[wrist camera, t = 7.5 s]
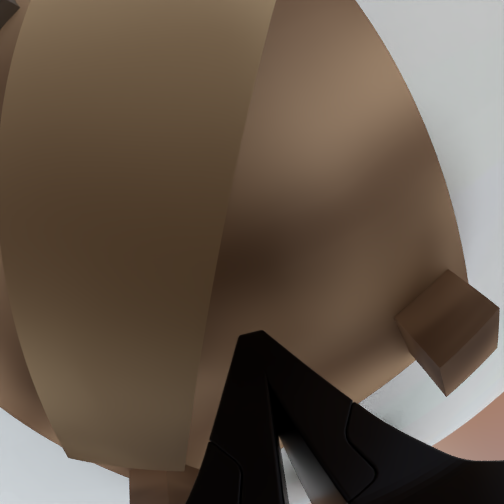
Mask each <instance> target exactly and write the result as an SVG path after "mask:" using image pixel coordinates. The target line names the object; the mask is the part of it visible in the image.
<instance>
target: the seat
mask: <svg viewBox="0 0 504 504" xmlns="http://www.w3.org/2000/svg"><path fill="white" fill-rule="evenodd" d="M30 1H31V0H0V123H1V115H2V108H3V101H4V95H5V89H6V84H7V79H8V74H9V70H10V65H11V61H12V57H13V53H14V49H15V46H16V42H17V39H18V36H19V32H20V29H21V26H22V23H23V20H24V17H25V14H26V11H27V9H28V6H29V3H30ZM258 330H264V331H265V332H266V333H267V334H269V335H270V336H271V337H272V338H273V339H275V340H276V341H277V342H278V343H280V344H281V345H282V346H283V347H285V348H286V349H287V350H288V351H290V352H291V353H292V354H293V355H295V356H296V357H297V358H298V359H300V360H301V361H302V362H303V363H305V364H306V365H307V366H309V367H310V368H311V369H312V370H314V371H315V372H316V373H318V374H319V375H320V376H321V377H323V378H324V379H325V380H327V381H328V382H329V383H331V384H332V385H333V386H335V387H336V388H337V389H339V390H340V391H341V392H342V393H344V394H345V395H347V396H348V397H349V398H351V399H352V400H353V402H356V403H359V402H361V401H362V400H364V399H365V398H367V397H368V396H369V395H371V394H372V393H374V392H375V391H377V390H378V389H379V388H381V387H382V386H383V385H385V384H386V383H387V382H389V381H390V380H391V379H393V378H394V377H395V376H397V375H398V374H399V373H400V372H402V371H403V370H404V369H405V368H407V367H408V366H409V365H410V364H412V363H413V362H414V361H415V360H416V361H417V362H418V363H419V364H420V365H421V366H422V368H423V369H424V370H425V371H426V373H427V374H428V375H429V376H430V377H431V379H432V380H433V381H434V382H435V383H436V385H437V386H438V387H439V388H440V390H441V391H442V392H443V393H444V395H445V396H446V397H447V396H448V395H449V394H450V393H451V392H453V391H454V390H455V389H456V388H457V387H458V386H459V385H460V384H461V383H463V382H464V381H465V380H466V379H467V378H468V377H469V376H470V375H471V374H472V373H473V372H474V371H475V370H476V369H477V368H478V367H479V366H480V365H481V364H482V363H483V362H484V361H485V360H486V359H487V358H488V357H489V356H490V355H491V354H492V353H493V352H494V351H495V349H496V348H497V343H498V330H499V307H498V306H496V305H495V304H494V303H493V302H491V301H490V300H489V299H488V298H486V297H485V296H484V295H482V294H481V293H480V292H479V291H477V290H476V289H475V288H473V287H472V286H471V285H469V284H468V278H467V272H466V266H465V260H464V255H463V249H462V244H461V240H460V235H459V231H458V226H457V222H456V218H455V214H454V210H453V207H452V203H451V199H450V196H449V192H448V189H447V186H446V182H445V179H444V176H443V173H442V170H441V167H440V164H439V161H438V158H437V155H436V153H435V150H434V147H433V145H432V142H431V139H430V137H429V134H428V132H427V129H426V127H425V124H424V122H423V120H422V117H421V115H420V113H419V110H418V108H417V106H416V104H415V102H414V99H413V97H412V95H411V93H410V91H409V89H408V87H407V85H406V83H405V81H404V79H403V77H402V75H401V73H400V71H399V69H398V68H397V66H396V64H395V62H394V60H393V58H392V57H391V55H390V53H389V51H388V50H387V48H386V46H385V45H384V43H383V41H382V40H381V38H380V36H379V35H378V33H377V32H376V30H375V28H374V27H373V25H372V24H371V22H370V21H369V19H368V18H367V16H366V15H365V13H364V12H363V10H362V9H361V8H360V6H359V5H358V3H357V2H356V1H355V0H276V2H275V6H274V9H273V13H272V17H271V21H270V24H269V28H268V32H267V36H266V40H265V44H264V48H263V52H262V56H261V60H260V64H259V68H258V72H257V76H256V81H255V85H254V89H253V93H252V97H251V102H250V106H249V110H248V115H247V119H246V124H245V128H244V133H243V137H242V142H241V146H240V151H239V155H238V160H237V165H236V169H235V174H234V179H233V184H232V189H231V193H230V198H229V203H228V208H227V213H226V218H225V223H224V228H223V233H222V239H221V244H220V249H219V254H218V260H217V265H216V270H215V276H214V281H213V287H212V293H211V298H210V304H209V310H208V315H207V321H206V327H205V333H204V339H203V345H202V351H201V358H200V364H199V370H198V377H197V383H196V390H195V397H194V404H193V410H192V417H191V425H190V432H189V439H188V447H187V454H186V462H185V470H184V471H160V470H146V469H135V468H126V467H118V466H110V465H104V464H97V463H95V464H97V465H99V466H101V467H104V468H106V469H108V470H111V471H113V472H115V473H118V474H120V475H123V476H125V477H128V478H129V490H130V504H185V503H186V501H187V498H188V496H189V494H190V492H191V490H192V487H193V485H194V482H195V480H196V478H197V475H198V473H199V470H200V467H201V464H202V461H203V458H204V454H205V451H206V448H207V444H208V442H210V441H209V438H210V434H211V431H212V427H213V424H214V420H215V417H216V413H217V410H218V406H219V403H220V399H221V396H222V392H223V389H224V385H225V382H226V378H227V375H228V371H229V368H230V364H231V361H232V357H233V353H234V350H235V346H236V343H237V339H238V337H239V335H242V334H246V333H250V332H254V331H258ZM0 407H1V408H2V409H4V410H5V411H6V412H8V413H9V414H10V415H12V416H13V417H15V418H16V419H18V420H19V421H21V422H22V423H24V424H25V425H27V426H28V427H30V428H31V429H33V430H34V431H36V432H37V433H39V434H41V435H42V436H44V437H46V438H47V439H49V440H51V441H52V442H54V443H56V444H58V445H60V446H61V444H60V442H59V440H58V438H57V436H56V434H55V432H54V430H53V428H52V426H51V424H50V421H49V419H48V417H47V415H46V413H45V410H44V408H43V406H42V403H41V401H40V399H39V396H38V394H37V391H36V389H35V386H34V383H33V381H32V378H31V375H30V372H29V370H28V367H27V364H26V361H25V358H24V354H23V351H22V348H21V345H20V341H19V338H18V334H17V331H16V327H15V323H14V319H13V315H12V311H11V306H10V301H9V297H8V292H7V286H6V281H5V275H4V269H3V262H2V254H1V246H0ZM279 442H280V448H283V447H284V446H283V444H282V442H281V440H280V438H279ZM61 447H62V446H61Z"/></svg>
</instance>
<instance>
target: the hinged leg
mask: <svg viewBox="0 0 504 504" xmlns="http://www.w3.org/2000/svg"><path fill="white" fill-rule="evenodd" d="M275 2H276V0H31V1H30V3H29V6H28V9H27V11H26V14H25V17H24V20H23V23H22V26H21V29H20V32H19V36H18V39H17V42H16V46H15V49H14V53H13V57H12V61H11V65H10V70H9V74H8V79H7V84H6V89H5V95H4V101H3V108H2V115H1V123H0V246H1V254H2V262H3V269H4V275H5V281H6V286H7V292H8V297H9V301H10V306H11V311H12V315H13V319H14V323H15V327H16V331H17V334H18V338H19V341H20V345H21V348H22V351H23V354H24V358H25V361H26V364H27V367H28V370H29V372H30V375H31V378H32V381H33V383H34V386H35V389H36V391H37V394H38V396H39V399H40V401H41V403H42V406H43V408H44V410H45V413H46V415H47V417H48V419H49V421H50V424H51V426H52V428H53V430H54V432H55V434H56V436H57V438H58V440H59V442H60V444H61V446H62V447H63V449H64V451H65V453H66V455H67V457H68V458H71V459H76V460H81V461H86V462H92V463H97V464H104V465H110V466H118V467H126V468H135V469H146V470H160V471H184V470H185V462H186V454H187V447H188V439H189V432H190V425H191V417H192V410H193V404H194V397H195V390H196V383H197V377H198V370H199V364H200V358H201V351H202V345H203V339H204V333H205V327H206V321H207V315H208V310H209V304H210V298H211V293H212V287H213V281H214V276H215V270H216V265H217V260H218V254H219V249H220V244H221V239H222V233H223V228H224V223H225V218H226V213H227V208H228V203H229V198H230V193H231V189H232V184H233V179H234V174H235V169H236V165H237V160H238V155H239V151H240V146H241V142H242V137H243V133H244V128H245V124H246V119H247V115H248V110H249V106H250V102H251V97H252V93H253V89H254V85H255V81H256V76H257V72H258V68H259V64H260V60H261V56H262V52H263V48H264V44H265V40H266V36H267V32H268V28H269V24H270V21H271V17H272V13H273V9H274V6H275Z"/></svg>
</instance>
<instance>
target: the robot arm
mask: <svg viewBox="0 0 504 504" xmlns="http://www.w3.org/2000/svg"><path fill="white" fill-rule="evenodd" d="M279 438H280V440H281V442H282V444H283V446H284V448H285V450H286V453H287V455H288V457H289V459H290V461H291V463H292V465H293V467H294V469H295V471H296V473H297V475H298V477H299V479H300V481H301V483H302V485H303V487H304V489H305V491H306V493H307V495H308V497H309V499H310V501H311V503H312V504H504V460H503V461H502V460H501V461H473V460H466V459H461V458H458V457H454V456H451V455H449V454H447V453H444V452H442V451H440V450H438V449H436V448H434V447H432V446H429V445H427V444H425V443H423V442H421V441H419V440H417V439H415V438H413V437H411V436H409V435H407V434H405V433H403V432H401V431H400V430H398V429H396V428H394V427H392V426H391V425H389V424H387V423H385V422H384V421H382V420H380V419H379V418H377V417H376V416H374V415H373V414H371V413H370V412H368V411H367V410H366V409H364V408H363V407H362V406H360V405H359V404H358V403H356V402H353V400H352V399H351V398H349V397H348V396H347V395H345V394H344V393H342V392H341V391H340V390H339V389H337V388H336V387H335V386H333V385H332V384H331V383H329V382H328V381H327V380H325V379H324V378H323V377H321V376H320V375H319V374H318V373H316V372H315V371H314V370H312V369H311V368H310V367H309V366H307V365H306V364H305V363H303V362H302V361H301V360H300V359H298V358H297V357H296V356H295V355H293V354H292V353H291V352H290V351H288V350H287V349H286V348H285V347H283V346H282V345H281V344H280V343H278V342H277V341H276V340H275V339H273V338H272V337H271V336H270V335H269V334H267V333H266V332H265V331H264V330H258V331H254V332H250V333H246V334H242V335H239V337H238V339H237V343H236V346H235V350H234V353H233V357H232V361H231V364H230V368H229V371H228V375H227V378H226V382H225V385H224V389H223V392H222V396H221V399H220V403H219V406H218V410H217V413H216V417H215V420H214V424H213V427H212V431H211V434H210V438H209V441H210V442H208V444H207V448H206V451H205V454H204V458H203V461H202V464H201V467H200V470H199V473H198V475H197V478H196V480H195V482H194V485H193V487H192V490H191V492H190V494H189V496H188V498H187V501H186V503H185V504H289V500H288V494H287V487H286V481H285V474H284V468H283V461H282V455H281V448H280V442H279Z"/></svg>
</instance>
